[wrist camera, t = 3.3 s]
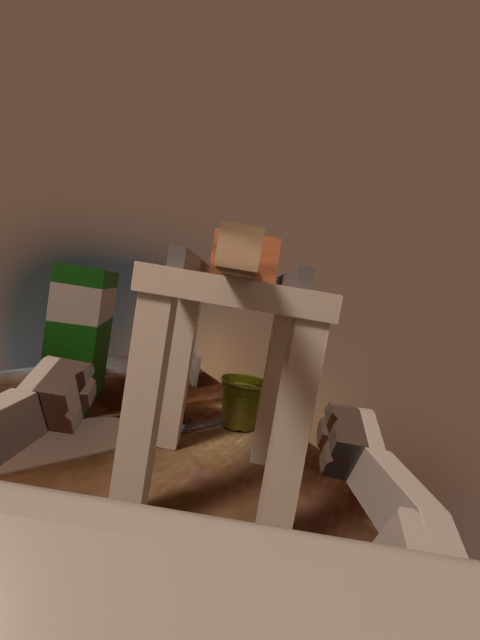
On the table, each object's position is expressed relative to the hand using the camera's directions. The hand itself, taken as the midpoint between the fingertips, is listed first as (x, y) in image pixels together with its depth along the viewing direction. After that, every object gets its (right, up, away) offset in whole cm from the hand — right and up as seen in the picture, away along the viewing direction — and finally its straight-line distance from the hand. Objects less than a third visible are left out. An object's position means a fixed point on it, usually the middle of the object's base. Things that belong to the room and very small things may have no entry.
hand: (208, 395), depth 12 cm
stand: (-3, -18, +30) cm, 35 cm away
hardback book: (-29, -12, +51) cm, 60 cm away
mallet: (+1, +7, +22) cm, 23 cm away
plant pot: (+1, -17, +51) cm, 53 cm away
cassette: (-11, -13, +76) cm, 78 cm away
